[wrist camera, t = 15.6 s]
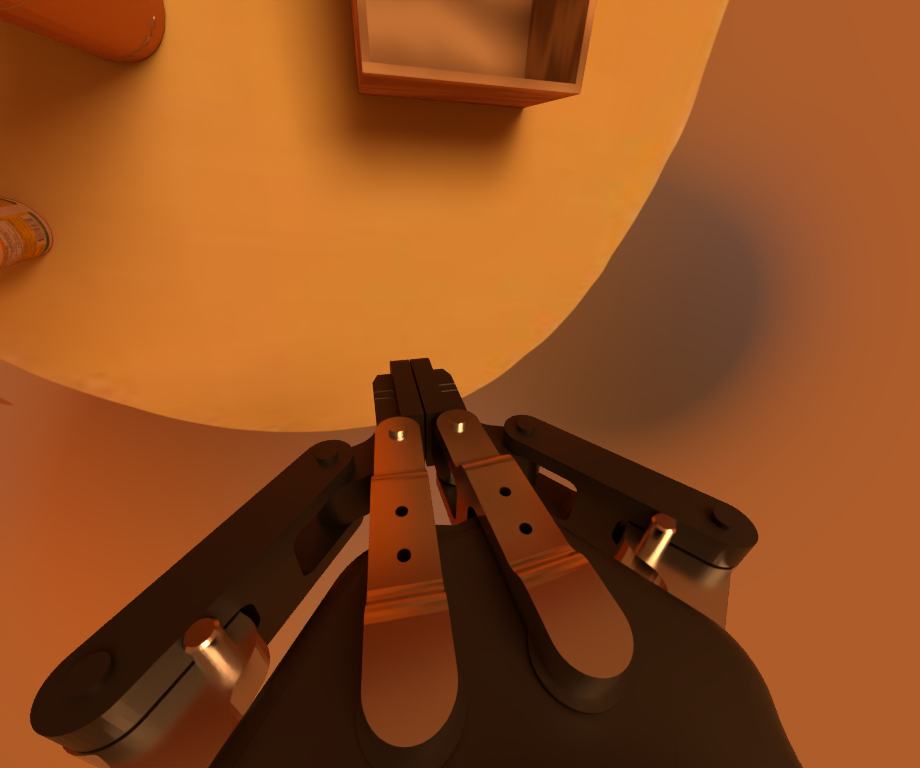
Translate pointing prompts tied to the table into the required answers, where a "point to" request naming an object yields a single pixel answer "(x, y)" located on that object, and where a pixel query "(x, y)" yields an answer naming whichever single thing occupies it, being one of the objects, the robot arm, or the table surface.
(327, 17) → the table surface
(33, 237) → the supplement bottle
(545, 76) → the open wooden box
